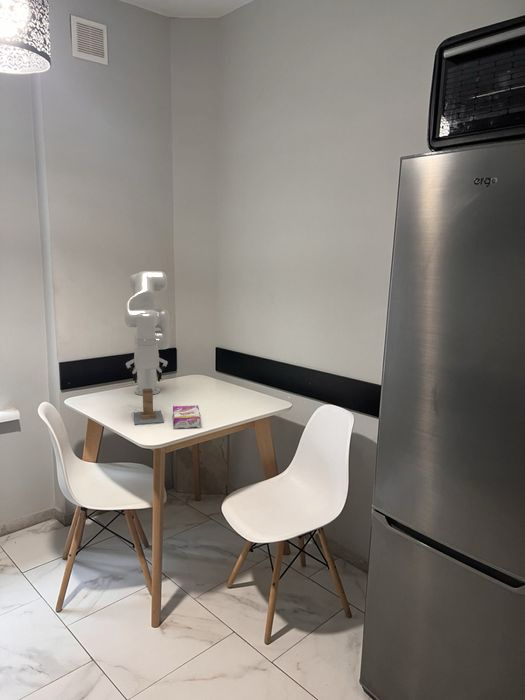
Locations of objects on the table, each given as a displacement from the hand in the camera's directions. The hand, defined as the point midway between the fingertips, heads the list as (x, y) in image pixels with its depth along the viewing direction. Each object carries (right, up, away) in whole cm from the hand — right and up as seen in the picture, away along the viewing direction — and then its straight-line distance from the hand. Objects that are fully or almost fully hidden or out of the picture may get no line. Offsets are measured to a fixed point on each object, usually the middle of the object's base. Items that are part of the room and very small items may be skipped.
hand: (147, 381), depth 217 cm
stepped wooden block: (0, -15, +2) cm, 16 cm away
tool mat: (0, -16, +2) cm, 16 cm away
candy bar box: (+15, -13, +6) cm, 21 cm away
